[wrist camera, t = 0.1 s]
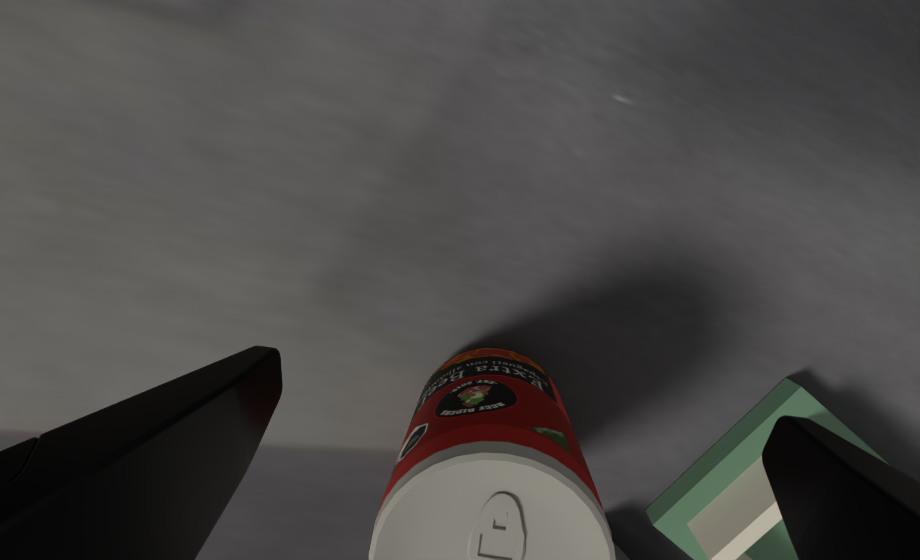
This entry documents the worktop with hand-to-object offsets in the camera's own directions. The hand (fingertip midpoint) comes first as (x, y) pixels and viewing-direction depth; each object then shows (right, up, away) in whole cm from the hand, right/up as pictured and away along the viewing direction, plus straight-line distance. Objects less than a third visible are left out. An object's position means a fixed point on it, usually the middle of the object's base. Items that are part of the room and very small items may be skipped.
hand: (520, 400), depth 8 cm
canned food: (+1, -5, +17) cm, 17 cm away
